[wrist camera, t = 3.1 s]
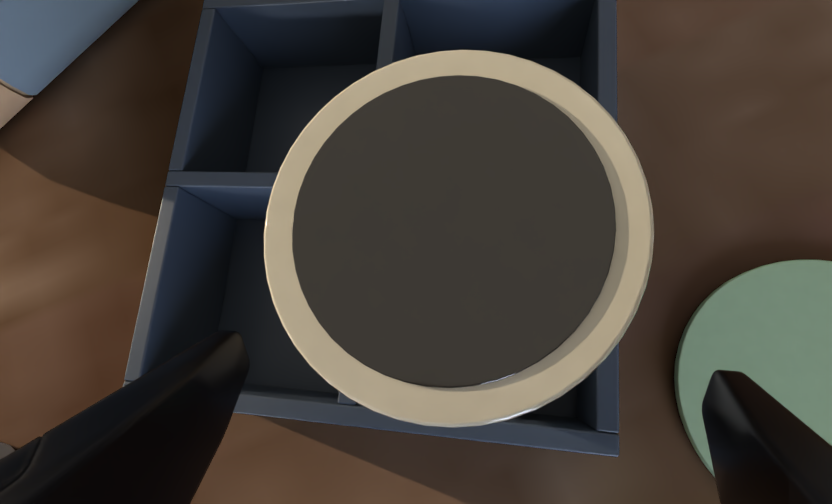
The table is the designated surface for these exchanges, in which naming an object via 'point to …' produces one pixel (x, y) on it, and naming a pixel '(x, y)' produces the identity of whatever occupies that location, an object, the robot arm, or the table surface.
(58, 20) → the blue rounded cube
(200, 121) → the organizer
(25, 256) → the table surface
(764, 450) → the robot arm
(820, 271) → the coaster
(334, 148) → the pen pot
